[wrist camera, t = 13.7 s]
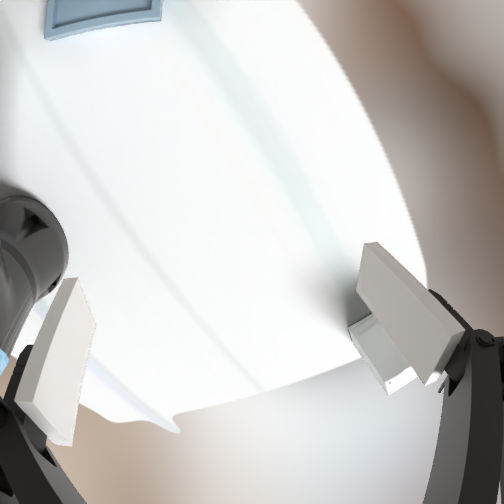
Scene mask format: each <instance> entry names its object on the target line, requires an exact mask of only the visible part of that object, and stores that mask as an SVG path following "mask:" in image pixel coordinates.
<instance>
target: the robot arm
mask: <svg viewBox="0 0 504 504" xmlns="http://www.w3.org/2000/svg"><path fill="white" fill-rule="evenodd" d="M67 264H68V245H67V240H66V237H65V234H64V232H63V230H62V227H61V226H60V224H59V222H58V221H57V219H56V218H55V217H54V215H53V214H52V213H51V212H50V211H49V210H48V209H47V208H46V207H45V206H43V205H42V204H41V203H39V202H37V201H35V200H33V199H31V198H28V197H24V196H12V197H8V198H5V199H3V200H2V201H0V376H1V374H2V372H3V370H4V368H5V366H7V365H8V363H9V357H10V354H11V352H12V350H13V347H14V345H15V343H16V340H17V338H18V336H19V334H20V331H21V329H22V327H23V325H24V323H25V321H26V319H27V317H28V315H29V313H30V311H31V309H32V307H33V305H34V304H35V303H36V302H37V301H39V300H40V299H42V298H43V297H44V296H46V295H47V294H48V293H50V292H51V291H52V290H53V289H54V288H55V287H56V286H57V285H58V284H59V282H60V280H61V278H62V276H63V275H64V273H65V270H66V268H67ZM355 291H356V292H357V293H358V295H359V296H360V297H361V299H362V300H363V301H364V302H365V304H366V305H367V306H368V308H369V309H370V310H371V312H372V313H373V314H374V316H375V317H376V318H377V320H378V321H379V322H380V324H381V325H382V326H383V328H384V329H385V331H386V332H387V333H388V335H389V336H390V337H391V339H392V340H393V342H394V343H395V344H396V346H397V347H398V348H399V350H400V351H401V353H402V354H403V355H404V357H405V358H406V360H407V361H408V363H409V364H410V365H411V367H412V368H413V370H414V371H415V373H416V374H417V375H418V377H419V378H420V380H421V381H422V383H423V384H424V385H428V384H430V383H432V382H434V381H436V380H438V379H439V378H440V376H441V374H442V372H443V371H444V370H445V371H446V373H447V374H448V376H447V377H446V379H445V381H444V382H443V384H442V385H441V387H440V388H439V391H438V393H441V391H442V389H443V388H444V387H445V389H444V398H443V407H442V415H441V422H440V428H439V434H438V440H437V446H436V451H435V456H434V461H433V465H432V470H431V474H430V479H429V482H428V486H427V490H426V494H425V498H424V501H423V504H496V502H497V495H498V488H499V481H500V486H501V503H502V504H504V337H494V336H493V335H492V334H490V333H489V332H488V331H485V330H482V329H477V330H473V329H472V328H471V327H470V325H469V324H468V323H467V322H466V321H465V320H464V319H463V318H462V317H461V316H460V315H459V314H458V313H457V312H456V311H455V310H453V308H452V307H451V305H450V304H447V301H446V300H445V299H444V298H443V297H442V296H441V295H439V294H438V293H436V292H434V291H432V290H431V289H429V290H427V289H426V288H425V287H424V286H423V285H422V284H421V283H420V282H419V281H418V280H417V279H416V278H415V277H414V276H413V275H412V274H411V273H410V272H409V271H408V270H407V269H406V268H405V267H404V266H402V265H401V264H400V263H399V262H398V261H397V260H396V259H395V258H394V257H393V256H392V255H391V254H390V253H389V252H388V251H386V250H385V249H384V248H383V247H382V246H381V245H380V244H379V243H378V242H373V243H365V244H364V247H363V253H362V259H361V264H360V270H359V275H358V280H357V285H356V290H355ZM95 328H96V323H95V320H94V318H93V316H92V313H91V310H90V308H89V305H88V303H87V300H86V297H85V295H84V292H83V289H82V286H81V284H80V281H79V278H78V277H77V278H68V279H64V280H63V282H62V284H61V286H60V288H59V290H58V292H57V294H56V296H55V298H54V300H53V302H52V304H51V306H50V309H49V311H48V313H47V315H46V317H45V320H44V322H43V324H42V326H41V329H40V331H39V334H38V336H37V338H36V341H35V343H34V345H27V346H26V347H25V349H24V350H23V351H22V352H21V353H20V355H19V358H18V360H17V363H16V367H15V368H14V371H13V375H12V376H11V379H10V381H9V384H8V387H7V390H6V393H5V396H4V399H2V398H1V396H0V504H87V503H86V502H85V501H84V499H83V498H82V497H81V495H80V494H79V493H78V492H77V490H76V488H75V487H74V486H73V484H72V483H71V481H70V480H69V479H68V477H67V476H66V474H65V473H64V471H63V470H62V468H61V467H60V465H59V463H58V462H57V460H56V459H55V457H54V456H53V454H52V452H51V450H50V449H49V448H48V447H47V446H46V439H47V437H48V438H49V439H50V440H51V441H52V442H53V443H54V444H56V445H65V446H72V443H73V436H74V429H75V422H76V416H77V409H78V404H79V399H80V393H81V388H82V383H83V378H84V373H85V369H86V364H87V360H88V356H89V351H90V347H91V343H92V339H93V335H94V331H95Z"/></svg>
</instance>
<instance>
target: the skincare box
mask: <svg viewBox="0 0 504 504" xmlns="http://www.w3.org/2000/svg"><path fill="white" fill-rule="evenodd" d="M348 329H349V332H350V335H351V338H352V341H353V344H354V346H355V347H356V349H357V350H358V352H359V353H360V355H361V356H362V358H363V359H364V361H365V362H366V363H367V365H368V366H369V368H370V369H371V371H372V372H373V374H374V375H375V377H376V379H377V380H378V382H379V383H380V384H381V386H382V388H383V389H384V391H385V392H386V393H387V395H390V394H392V393H393V392H395V391H396V390H398V389H399V388H401V387H402V386H404V385H405V384H407V383H408V382H410V381H411V380H413V379H414V378H416V377H417V376H418V375H417V374H416V373H415V371H414V370H413V368H412V367H411V365H410V364H409V363H408V361H407V360H406V358H405V357H404V355H403V354H402V353H401V351H400V350H399V348H398V347H397V346H396V344H395V343H394V342H393V340H392V339H391V337H390V336H389V335H388V333H387V332H386V331H385V329H384V328H383V326H382V325H381V324H380V322H379V321H378V320H377V318H376V317H375V316H374V314H373V313H372V314H370V315H369V316H367V317H365V318H364V319H362V320H360V321H359V322H357V323H355V324H353V325H352V326H350V327H348Z"/></svg>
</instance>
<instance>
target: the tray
mask: <svg viewBox="0 0 504 504" xmlns="http://www.w3.org/2000/svg"><path fill="white" fill-rule="evenodd" d="M161 16H162V0H48V4H47V13H46V23H45V35H44V39H46V40H50V41H52V40H56V39H59V38H63V37H67V36H71V35H75V34H79V33H84V32H88V31H93V30H98V29H103V28H109V27H115V26H121V25H128V24H135V23H144V22H153V21H161Z"/></svg>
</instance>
